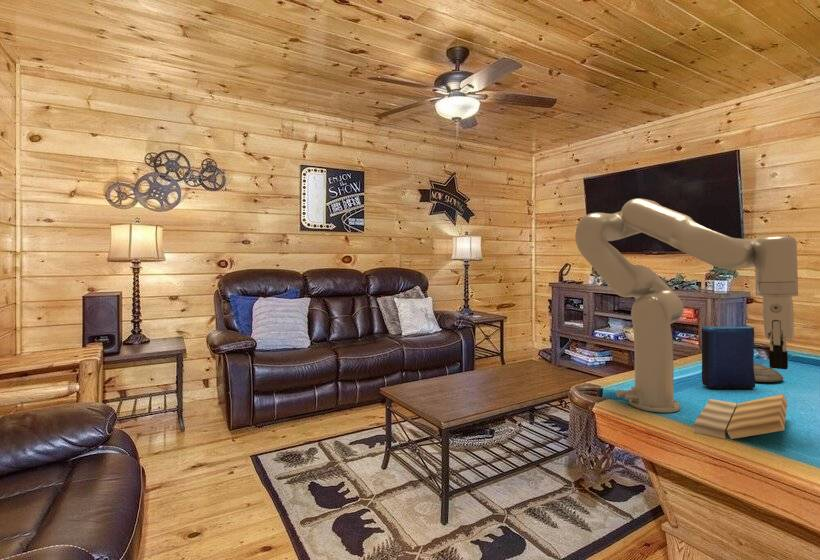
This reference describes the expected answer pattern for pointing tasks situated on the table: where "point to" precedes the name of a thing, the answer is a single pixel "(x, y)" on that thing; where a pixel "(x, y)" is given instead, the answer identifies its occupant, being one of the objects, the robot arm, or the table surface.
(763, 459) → the table surface
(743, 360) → the book
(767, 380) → the flying saucer
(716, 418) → the ash board
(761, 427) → the oak plank
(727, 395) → the table surface
